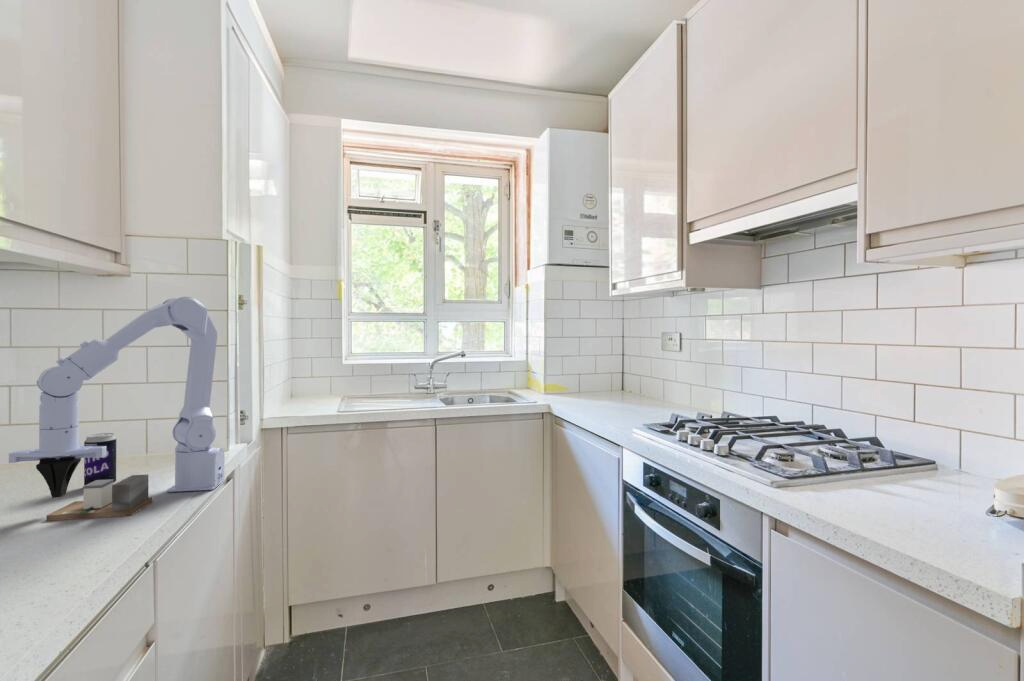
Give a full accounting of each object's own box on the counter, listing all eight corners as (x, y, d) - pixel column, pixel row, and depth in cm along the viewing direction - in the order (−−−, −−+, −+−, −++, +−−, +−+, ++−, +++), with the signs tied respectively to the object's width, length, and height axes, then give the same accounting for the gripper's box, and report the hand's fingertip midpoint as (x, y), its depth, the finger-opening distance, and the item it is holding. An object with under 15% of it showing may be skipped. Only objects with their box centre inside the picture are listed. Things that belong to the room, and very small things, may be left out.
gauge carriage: (113, 501, 99) (113, 479, 99) (95, 511, 93) (96, 487, 93) (96, 502, 98) (96, 480, 98) (77, 512, 93) (77, 488, 93)
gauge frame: (152, 502, 102) (152, 473, 102) (131, 515, 94) (131, 485, 94) (74, 506, 99) (75, 477, 99) (46, 520, 91) (46, 489, 91)
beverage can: (79, 487, 111) (79, 435, 111) (109, 481, 116) (109, 431, 116) (91, 491, 108) (91, 438, 108) (120, 485, 113) (121, 434, 113)
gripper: (113, 421, 101) (112, 486, 101) (24, 425, 96) (24, 493, 96) (97, 427, 95) (96, 497, 95) (1, 432, 90) (1, 504, 90)
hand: (59, 496), depth 95 cm, fingers closed
